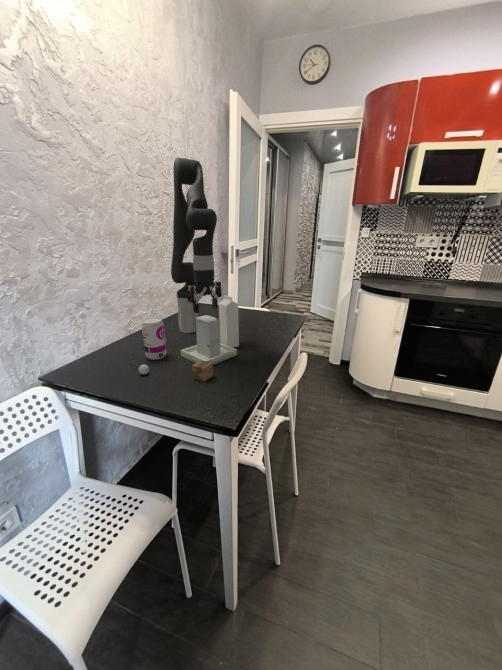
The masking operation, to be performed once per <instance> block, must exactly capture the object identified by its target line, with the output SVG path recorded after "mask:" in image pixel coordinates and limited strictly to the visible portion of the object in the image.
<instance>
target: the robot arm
mask: <svg viewBox="0 0 502 670" xmlns="http://www.w3.org/2000/svg"><path fill="white" fill-rule="evenodd" d="M172 169H173V197H174V198H173V199H174V200H173V203H174V204H173V224H172V225H173V226H172V227H173V239H172V240H173V241H172V242H173V243H172V245H173V246H172V257H171V265H170V268H171V269H170V270H171V271H170V273H171V279H172V281H173V282H174V283H175V284H184V283H185V284H184V286H182V287H181V288H179V289H178V290H177V291H176V298H177V299H176V300H177V301H176V302H177V309H178V310H177V318H178V319H177V320H178V330H179V331H180V332H181V333H183V334H189V333H196V318H197V317H199V314H200V305H199V302H200V300H201V299H202V298H203V297H205V296H210V297H211V308H212V309H213V310H217V309H218V307H219V301H218V300H219V298H221V297H222V295H223V294H222V283H221V281H217V280H215V279H216V278H215V277H216V276H215V260H214V247H213V246H214V236H215V230H216V227H217V222H218V216H217V212H216V211H215V210H214V209H212V208H209V204H208V201H207V198H206V197H207V196H206V195H205V186H204V185H205V184H204V174H203V173H204V172H203V171H204V170H203V167H202V164H201V162H200V161H198V160H195V159H189V158H182V157H175V159H174V161H173V168H172ZM183 185H186V186H189V188H188V189H187V191H186V195H185V194H184V191H183ZM185 196H186V197H185ZM196 231H206V232H205V234H204V235H203V236H199V237H195V235H196V233H195V232H196ZM194 237H195V238H194ZM191 243H192V261H187V262H184V257H185V253H186V252H187V249H188V248H189V246H190V245H191Z"/></svg>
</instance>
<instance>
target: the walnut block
mask: <svg viewBox="0 0 502 670" xmlns="http://www.w3.org/2000/svg"><path fill="white" fill-rule="evenodd" d="M213 366H214V365H213V363H211V362H207V361H203V360H200V361H199V362H197V363H195V362H194V364H192V365H191V370H192V379H194V380H197V381H201V382H204V383H205V382H206V381H208V380H210V379H211V378H212V377H214V367H213Z"/></svg>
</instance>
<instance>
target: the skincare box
mask: <svg viewBox="0 0 502 670" xmlns="http://www.w3.org/2000/svg"><path fill="white" fill-rule="evenodd" d="M195 334H196V345H197V352H198V353H200V354H203V355H205V356H208V357H212V356H215V355H218V354H220V319H219V318H216V317H214V316H210V315H208V314H207V315H206V314H205V315H201V316H198V317H197V318H196V332H195Z"/></svg>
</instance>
